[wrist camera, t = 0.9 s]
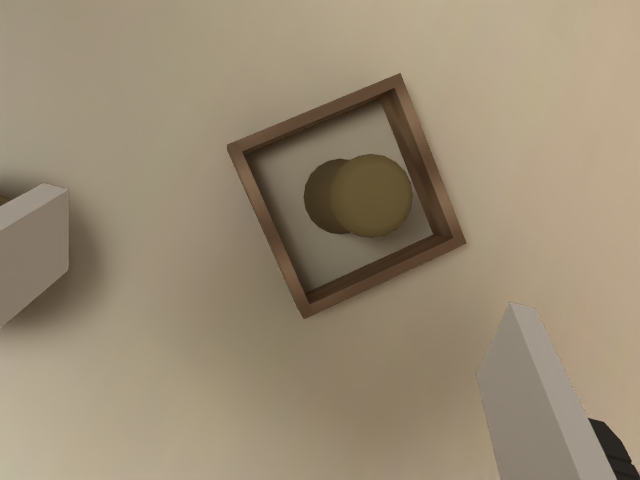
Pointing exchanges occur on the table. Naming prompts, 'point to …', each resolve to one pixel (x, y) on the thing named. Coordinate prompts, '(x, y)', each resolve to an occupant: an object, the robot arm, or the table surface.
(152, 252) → the table surface
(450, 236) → the walnut box
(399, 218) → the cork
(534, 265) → the table surface
